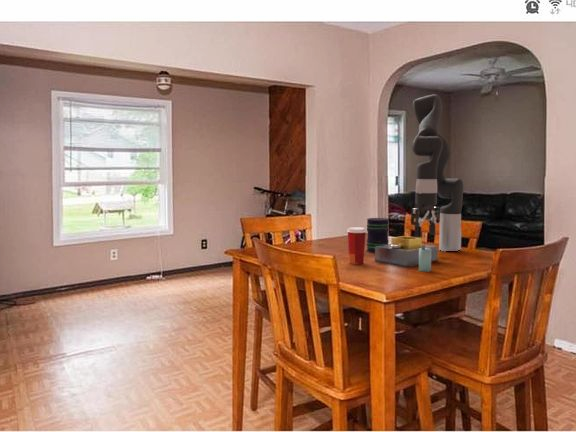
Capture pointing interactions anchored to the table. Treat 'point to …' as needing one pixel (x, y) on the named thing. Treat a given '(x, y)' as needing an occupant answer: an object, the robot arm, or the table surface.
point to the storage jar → (377, 233)
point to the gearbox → (403, 251)
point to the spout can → (424, 259)
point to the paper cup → (356, 245)
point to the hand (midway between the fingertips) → (425, 235)
